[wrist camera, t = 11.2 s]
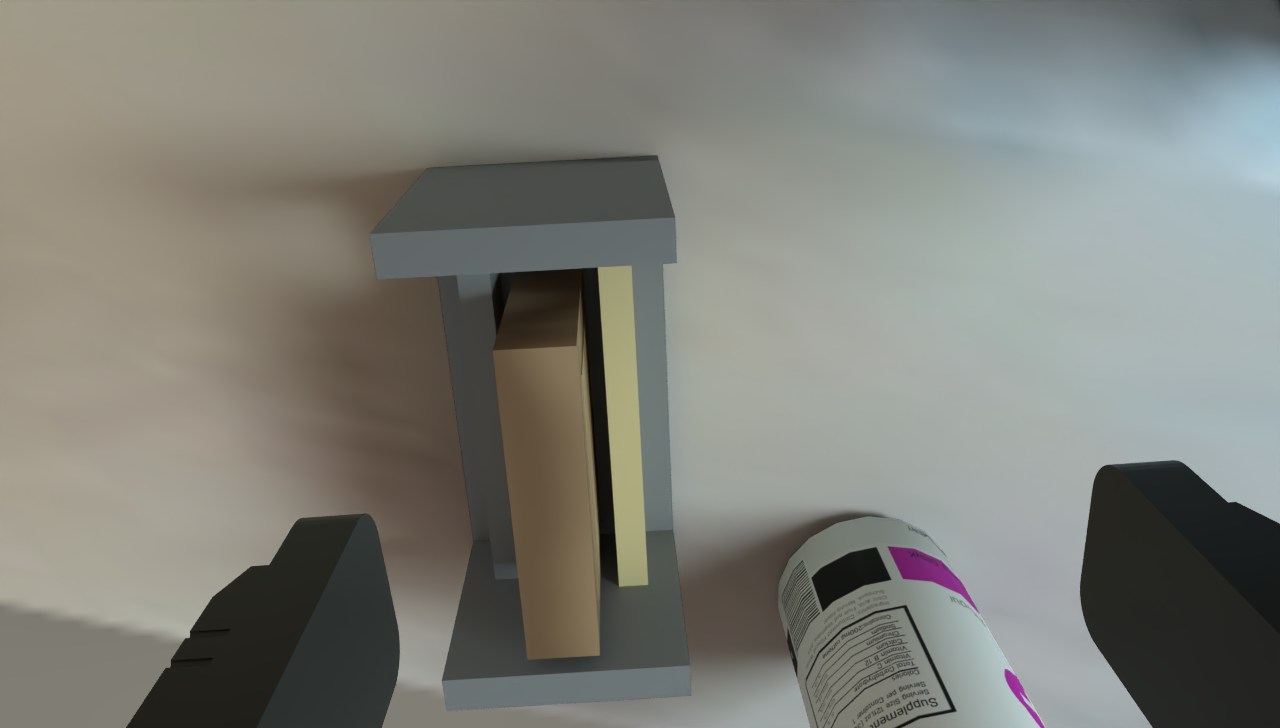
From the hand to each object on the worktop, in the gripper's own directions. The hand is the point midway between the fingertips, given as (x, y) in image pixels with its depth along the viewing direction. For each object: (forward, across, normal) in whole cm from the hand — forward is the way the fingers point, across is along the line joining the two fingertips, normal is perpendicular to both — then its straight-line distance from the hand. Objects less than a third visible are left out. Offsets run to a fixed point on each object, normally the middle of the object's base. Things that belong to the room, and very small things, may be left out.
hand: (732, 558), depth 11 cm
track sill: (+28, +5, +10) cm, 30 cm away
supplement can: (+29, -8, +22) cm, 37 cm away
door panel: (+27, +5, +10) cm, 30 cm away
